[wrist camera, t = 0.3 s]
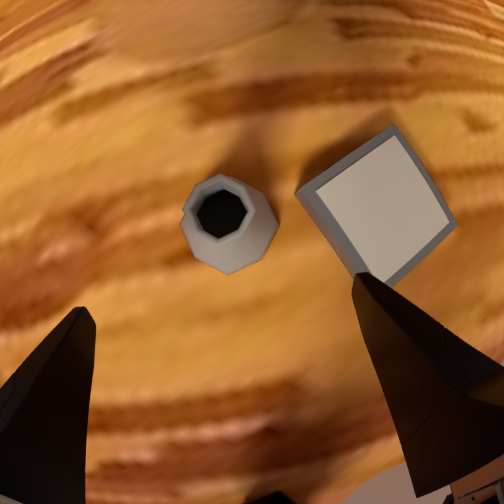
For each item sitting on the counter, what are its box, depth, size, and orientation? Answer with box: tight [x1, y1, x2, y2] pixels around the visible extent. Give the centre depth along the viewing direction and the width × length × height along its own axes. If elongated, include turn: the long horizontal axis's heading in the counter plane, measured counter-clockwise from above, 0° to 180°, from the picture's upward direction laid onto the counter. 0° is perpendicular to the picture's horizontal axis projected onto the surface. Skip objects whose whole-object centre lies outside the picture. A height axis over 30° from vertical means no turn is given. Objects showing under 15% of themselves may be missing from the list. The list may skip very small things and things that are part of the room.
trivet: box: [294, 124, 458, 288], centre depth 23 cm, size 10×10×3 cm
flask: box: [180, 173, 280, 275], centre depth 19 cm, size 7×7×10 cm
